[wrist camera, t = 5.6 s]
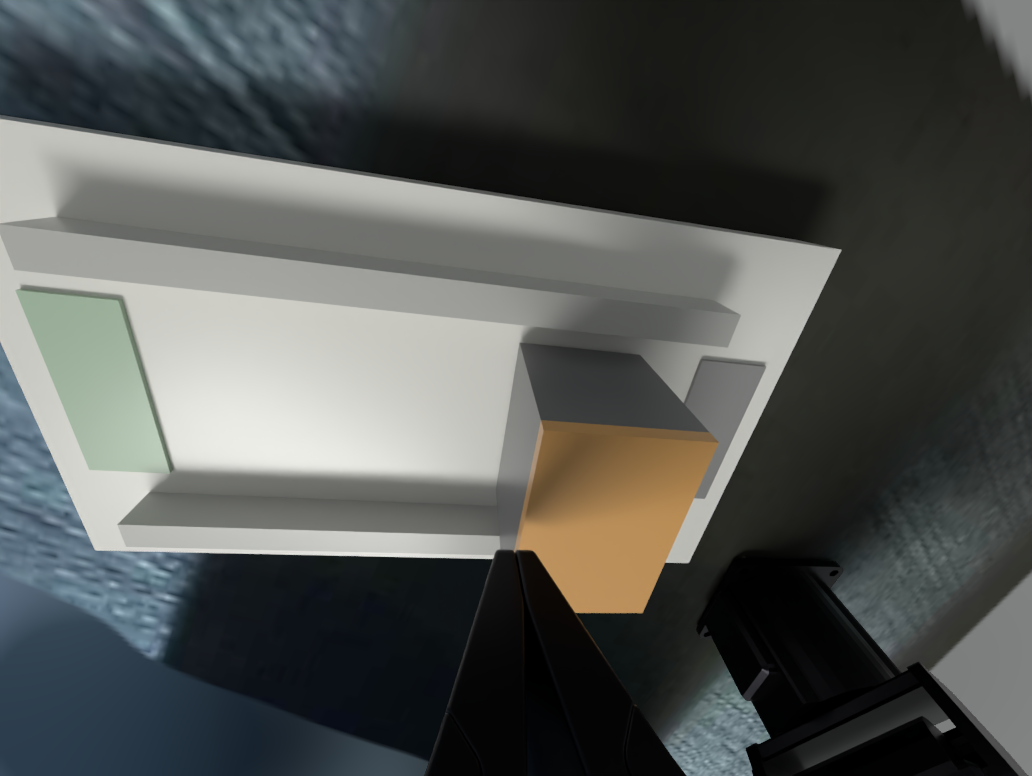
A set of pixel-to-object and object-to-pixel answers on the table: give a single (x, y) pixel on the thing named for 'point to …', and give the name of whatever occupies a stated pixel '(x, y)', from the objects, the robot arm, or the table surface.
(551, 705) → the robot arm
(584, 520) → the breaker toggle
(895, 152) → the table surface
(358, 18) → the table surface
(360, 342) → the white rail tray
